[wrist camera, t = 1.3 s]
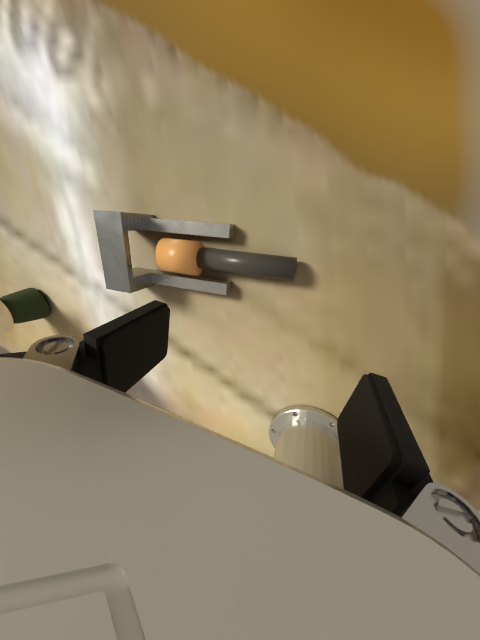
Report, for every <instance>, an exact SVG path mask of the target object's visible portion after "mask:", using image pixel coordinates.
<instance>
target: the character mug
mask: <svg viewBox="0 0 480 640" xmlns="http://www.w3.org/2000/svg"><path fill="white" fill-rule="evenodd" d="M49 312H50V310H49V307H48V304H47V302H46V301H45V299H44V298H43V296H42V295H41V294H40V293H39V292H38V291H37V290H36V289H35V288H28V289H24V290H21V291H18V292H15V293H12V294H9V295H6V296H3V297H1V298H0V334H2V333H5V332H8V331H10V330H12V328H13V327H14V323H22V322H27V321H32V320H37V319H41V318H45V317H47V316H48V315H49Z"/></svg>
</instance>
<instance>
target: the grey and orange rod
mask: <svg viewBox="0 0 480 640" xmlns="http://www.w3.org/2000/svg"><path fill="white" fill-rule="evenodd" d="M155 257H156V262H157V265H158V267H159V268H160V269H161V270H163V271H168V272H175V273H182V274H189V275H196V276H198V275H200V274H201V273H202V271H203V269H206V270H213V271H221V272H228V273H235V274H243V275H250V276H257V277H265V278H272V279H279V280H287V281H293V278H294V274H295V268H296V262H297V258H294V257H285V256H276V255H267V254H257V253H248V252H239V251H230V250H221V249H212V248H204V245H203V244H202V243H201V242H200V241H191V240H181V239H172V238H162V239H161V240H160V241H159V242H158V244H157V246H156V251H155Z"/></svg>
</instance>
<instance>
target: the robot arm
mask: <svg viewBox="0 0 480 640" xmlns="http://www.w3.org/2000/svg"><path fill="white" fill-rule="evenodd" d="M169 318H170V308H168V306H167V304H165V303H162V302H159V301H156V300H155V301H152V302H150V303H148V304H146V305H144V306H142V307H140V308H137V309H135V310H133V311H131V312H129V313H127V314H125V315H123V316H120V317H118V318H116V319H114V320H112V321H110V322H108V323H106V324H104V325H101V326H99V327H97V328H95V329H93V330H91V331H89V332H87V333H85V334H83V337H84V340H83V341H81V342H79V340H78V339H77V338H76V337H74V336H69V335H54V336H49V337H45V338H43V339H40V340H38V341H36V342H35V343H33V344H32V345H31V346H30V348H29V349H28V351H27V352H18V353H7V354H0V640H480V514H479V513H478V512H477V511H476V510H475V508H474V507H473V506H471V505H470V504H469V503H468V502H467V501H466V500H465V499H464V498H463V497H461V496H460V495H459V494H457V493H456V492H455V491H453V490H451V489H450V488H448V487H446V486H444V485H441V484H438V483H433V480H432V478H431V476H430V474H429V472H430V470H429V468H428V465H427V463H426V461H425V459H424V457H423V455H422V453H421V450H420V448H419V446H418V444H417V442H416V440H415V438H414V435H413V433H412V431H411V429H410V427H409V425H408V422H407V420H406V418H405V416H404V414H403V412H402V410H401V407H400V405H399V403H398V401H397V399H396V397H395V395H394V392H393V390H392V388H391V386H390V384H389V382H388V380H387V378H386V377H383V376H380V375H377V374H374V373H369V374H368V375H366V374H364V375H363V376H362V378H361V380H360V381H359V383H358V385H357V386H356V388H355V390H354V392H353V393H352V395H351V397H350V399H349V400H348V402H347V404H346V405H345V407H344V409H343V411H342V412H341V414H340V416H339V418H338V420H337V419H336V418H335V417H333V416H332V415H330V414H329V413H327V412H325V411H322V410H320V409H317V408H313V407H307V406H294V407H289V408H286V409H283V410H282V411H280V412H278V413H277V414H276V415H275V416H274V417H273V419H272V421H271V424H270V429H269V436H270V440H271V443H272V444H273V446H274V448H275V453H274V458H273V457H271V456H268V455H266V454H264V453H262V452H259V451H257V450H255V449H253V448H250V447H248V446H246V445H244V444H241V443H239V442H237V441H235V440H232V439H230V438H228V437H225V436H223V435H221V434H219V433H216V432H214V431H212V430H209V429H207V428H205V427H203V426H200V425H198V424H196V423H193V422H191V421H189V420H187V419H184V418H182V417H180V416H177V415H175V414H173V413H170V412H168V411H166V410H164V409H161V408H159V407H157V406H154V405H152V404H150V403H147V402H145V401H143V400H140V399H138V398H136V397H133V396H131V395H129V394H126V393H125V392H127V391H128V390H129V389H130V388H131V387H132V386H133V385H134V384H136V383H137V382H138V381H139V380H140V379H141V378H142V377H143V376H145V375H146V374H147V373H148V372H149V371H150V370H151V369H153V368H154V367H155V366H156V365H157V364H158V363H159V362H160V361H162V360H163V359H164V358H165V356H166V354H167V348H168V333H169Z"/></svg>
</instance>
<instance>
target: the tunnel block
mask: <svg viewBox="0 0 480 640" xmlns="http://www.w3.org/2000/svg"><path fill="white" fill-rule="evenodd" d="M93 212H94V218H95V224H96V230H97V235H98V241H99V247H100V253H101V259H102V265H103V270H104V276H105V282H106V288H107V289H111V290H116V291H122V292H127V293H132V292H135V291H138V290H141V289H144V288H147V287H150V286H153V285H156V284H160V285H166V286H172V287H178V288H184V289H190V290H196V291H202V292H208V293H214V294H220V295H227V294H229V293H230V292H231V281H226V280H219V279H212V278H205V277H198V276H192V275H185V274H178V273H171V272H164V271H158V270H151V269H144V268H132V264H131V255H130V247H129V239H128V231H131V230H148V231H158V232H169V233H179V234H190V235H200V236H211V237H221V238H234V224H221V223H208V222H195V221H183V220H170V219H157V218H154V215H147V214H136V213H125V212H112V211H99V210H93Z"/></svg>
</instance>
